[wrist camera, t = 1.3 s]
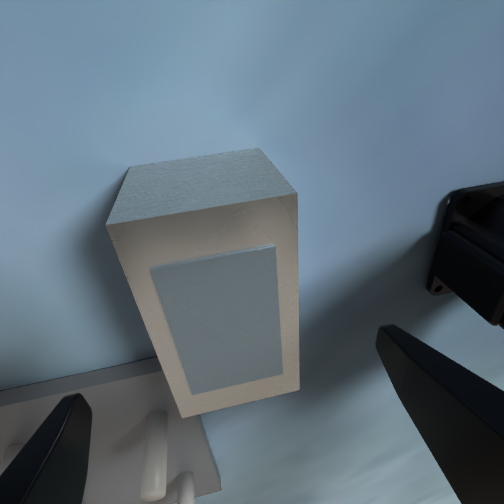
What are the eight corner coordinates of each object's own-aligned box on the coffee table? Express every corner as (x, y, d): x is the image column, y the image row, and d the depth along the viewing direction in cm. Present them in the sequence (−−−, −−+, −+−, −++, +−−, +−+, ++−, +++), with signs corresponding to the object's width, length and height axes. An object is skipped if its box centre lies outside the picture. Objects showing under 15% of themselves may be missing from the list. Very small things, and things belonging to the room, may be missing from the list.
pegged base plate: (178, 352, 18) (178, 444, 13) (220, 476, 26) (227, 555, 22) (-55, 403, 16) (-135, 523, 12) (71, 516, 25) (50, 608, 21)
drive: (258, 146, 13) (298, 194, 8) (270, 310, 17) (300, 392, 13) (130, 165, 12) (104, 227, 8) (181, 328, 17) (182, 420, 13)
